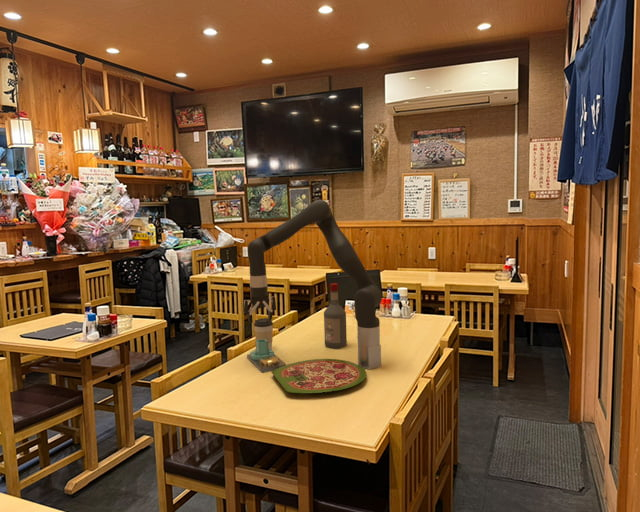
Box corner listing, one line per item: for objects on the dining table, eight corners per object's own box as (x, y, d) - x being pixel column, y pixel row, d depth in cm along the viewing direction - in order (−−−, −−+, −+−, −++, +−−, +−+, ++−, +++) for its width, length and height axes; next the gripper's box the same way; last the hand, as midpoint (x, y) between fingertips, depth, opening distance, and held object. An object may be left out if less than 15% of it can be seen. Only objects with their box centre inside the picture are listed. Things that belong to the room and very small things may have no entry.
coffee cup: (251, 351, 221) (249, 320, 219) (262, 346, 229) (260, 316, 227) (267, 354, 217) (265, 322, 215) (278, 348, 225) (276, 317, 223)
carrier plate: (286, 368, 199) (286, 353, 198) (261, 372, 194) (260, 357, 193) (270, 353, 217) (269, 340, 217) (247, 357, 213) (246, 343, 212)
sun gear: (282, 364, 199) (282, 360, 199) (263, 367, 195) (263, 364, 195) (275, 358, 207) (275, 355, 206) (257, 361, 203) (257, 358, 203)
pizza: (267, 372, 195) (266, 366, 195) (344, 359, 207) (344, 354, 207) (292, 405, 163) (292, 398, 162) (382, 388, 175) (382, 381, 175)
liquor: (338, 349, 220) (336, 286, 217) (322, 346, 226) (320, 284, 222) (349, 344, 227) (347, 283, 224) (333, 341, 233) (331, 281, 229)
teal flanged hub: (276, 357, 208) (276, 342, 207) (254, 361, 203) (254, 345, 203) (269, 351, 217) (268, 336, 216) (248, 354, 213) (247, 339, 212)
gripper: (245, 288, 200) (247, 325, 202) (277, 284, 206) (278, 321, 208) (240, 285, 207) (242, 322, 208) (271, 282, 212) (273, 317, 214)
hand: (260, 321), depth 208 cm, fingers open, 8 cm apart
